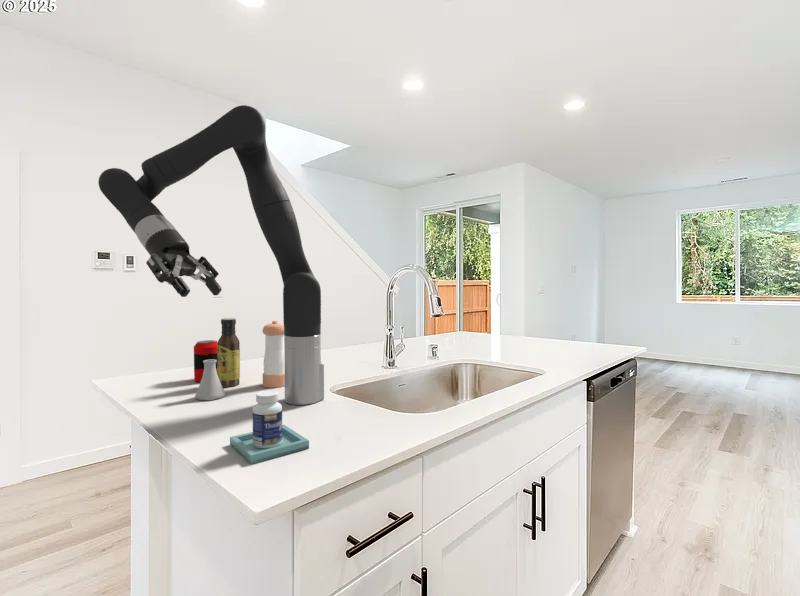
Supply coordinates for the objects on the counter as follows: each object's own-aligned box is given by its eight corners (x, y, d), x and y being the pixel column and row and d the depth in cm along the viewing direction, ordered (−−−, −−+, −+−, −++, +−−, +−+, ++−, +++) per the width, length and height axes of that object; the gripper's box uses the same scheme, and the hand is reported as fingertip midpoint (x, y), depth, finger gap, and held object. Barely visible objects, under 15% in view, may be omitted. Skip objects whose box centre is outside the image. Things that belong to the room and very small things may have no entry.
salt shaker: (284, 387, 125) (283, 322, 124) (259, 387, 125) (258, 322, 124) (290, 381, 132) (290, 319, 131) (267, 381, 132) (266, 319, 131)
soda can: (204, 383, 129) (203, 344, 129) (189, 380, 133) (188, 342, 132) (226, 378, 136) (225, 341, 135) (210, 375, 139) (210, 339, 139)
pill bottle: (266, 451, 78) (265, 398, 78) (246, 445, 81) (246, 394, 80) (288, 442, 83) (288, 392, 82) (269, 436, 85) (269, 388, 85)
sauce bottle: (214, 384, 128) (213, 318, 127) (235, 381, 132) (234, 317, 131) (222, 389, 123) (221, 319, 122) (243, 385, 127) (242, 318, 126)
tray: (284, 431, 89) (284, 424, 89) (309, 448, 81) (308, 440, 81) (230, 444, 83) (230, 437, 82) (251, 464, 74) (250, 455, 74)
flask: (231, 395, 117) (230, 359, 116) (209, 402, 110) (208, 364, 110) (211, 392, 120) (211, 356, 119) (189, 399, 113) (188, 361, 113)
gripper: (140, 224, 87) (184, 281, 83) (196, 231, 100) (237, 280, 96) (122, 250, 89) (165, 307, 85) (180, 254, 102) (218, 303, 99)
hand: (203, 293), depth 91 cm, fingers open, 8 cm apart
